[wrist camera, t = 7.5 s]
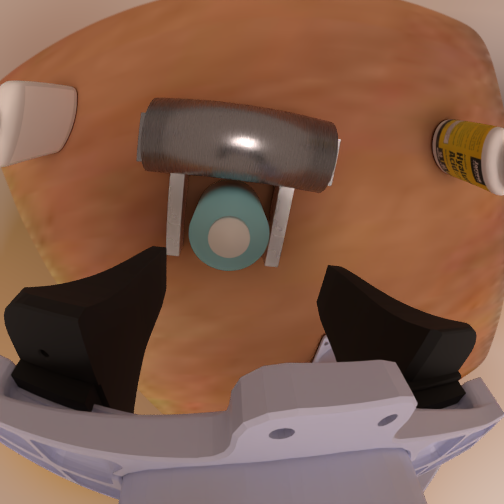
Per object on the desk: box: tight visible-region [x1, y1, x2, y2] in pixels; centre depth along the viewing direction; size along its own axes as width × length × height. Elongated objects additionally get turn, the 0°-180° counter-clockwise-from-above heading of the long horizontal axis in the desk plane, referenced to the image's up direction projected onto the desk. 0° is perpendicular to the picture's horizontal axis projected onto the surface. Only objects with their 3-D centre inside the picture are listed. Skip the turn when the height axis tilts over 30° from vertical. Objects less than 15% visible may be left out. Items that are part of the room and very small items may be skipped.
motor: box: [137, 98, 341, 267], centre depth 17 cm, size 11×12×6 cm
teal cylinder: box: [189, 179, 270, 271], centre depth 18 cm, size 5×5×6 cm
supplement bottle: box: [433, 119, 504, 195], centre depth 15 cm, size 5×5×10 cm
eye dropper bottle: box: [0, 81, 77, 167], centre depth 11 cm, size 4×6×12 cm
